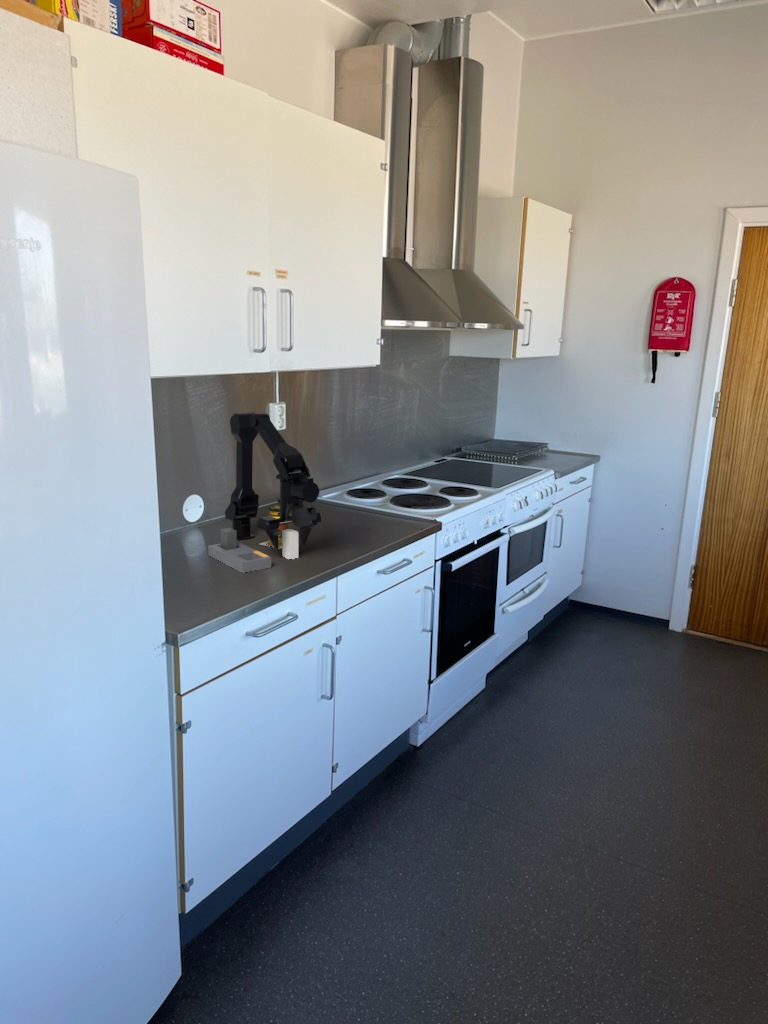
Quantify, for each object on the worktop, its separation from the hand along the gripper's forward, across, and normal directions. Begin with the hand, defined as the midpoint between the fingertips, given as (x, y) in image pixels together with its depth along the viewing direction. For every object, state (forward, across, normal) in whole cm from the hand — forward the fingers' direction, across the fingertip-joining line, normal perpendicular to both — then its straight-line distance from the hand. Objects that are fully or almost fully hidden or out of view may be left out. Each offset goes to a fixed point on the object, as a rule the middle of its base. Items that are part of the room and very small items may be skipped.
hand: (290, 548), depth 216 cm
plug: (+3, 0, 0) cm, 3 cm away
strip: (+3, -14, +5) cm, 15 cm away
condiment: (+3, +4, +14) cm, 15 cm away
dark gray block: (+3, -14, +11) cm, 18 cm away
